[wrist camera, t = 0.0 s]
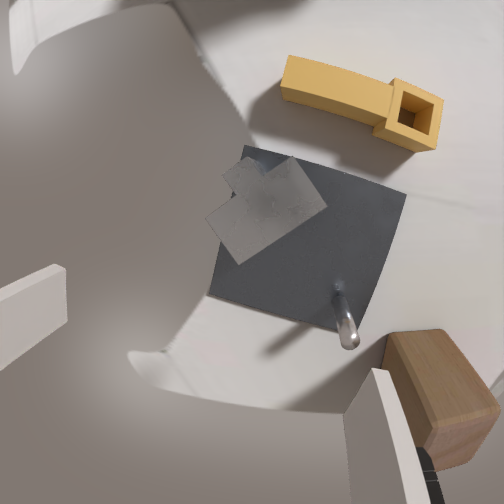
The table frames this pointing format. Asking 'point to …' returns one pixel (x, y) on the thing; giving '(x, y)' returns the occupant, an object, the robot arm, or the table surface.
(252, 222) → the block
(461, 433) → the wooden block
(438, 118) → the link
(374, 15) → the table surface
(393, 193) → the base
